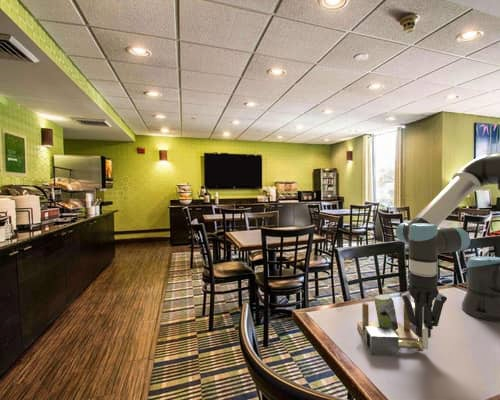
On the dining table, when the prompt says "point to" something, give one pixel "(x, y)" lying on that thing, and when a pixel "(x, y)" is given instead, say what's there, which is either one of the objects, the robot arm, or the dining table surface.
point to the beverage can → (386, 311)
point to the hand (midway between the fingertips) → (423, 346)
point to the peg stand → (401, 332)
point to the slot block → (381, 341)
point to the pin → (411, 344)
